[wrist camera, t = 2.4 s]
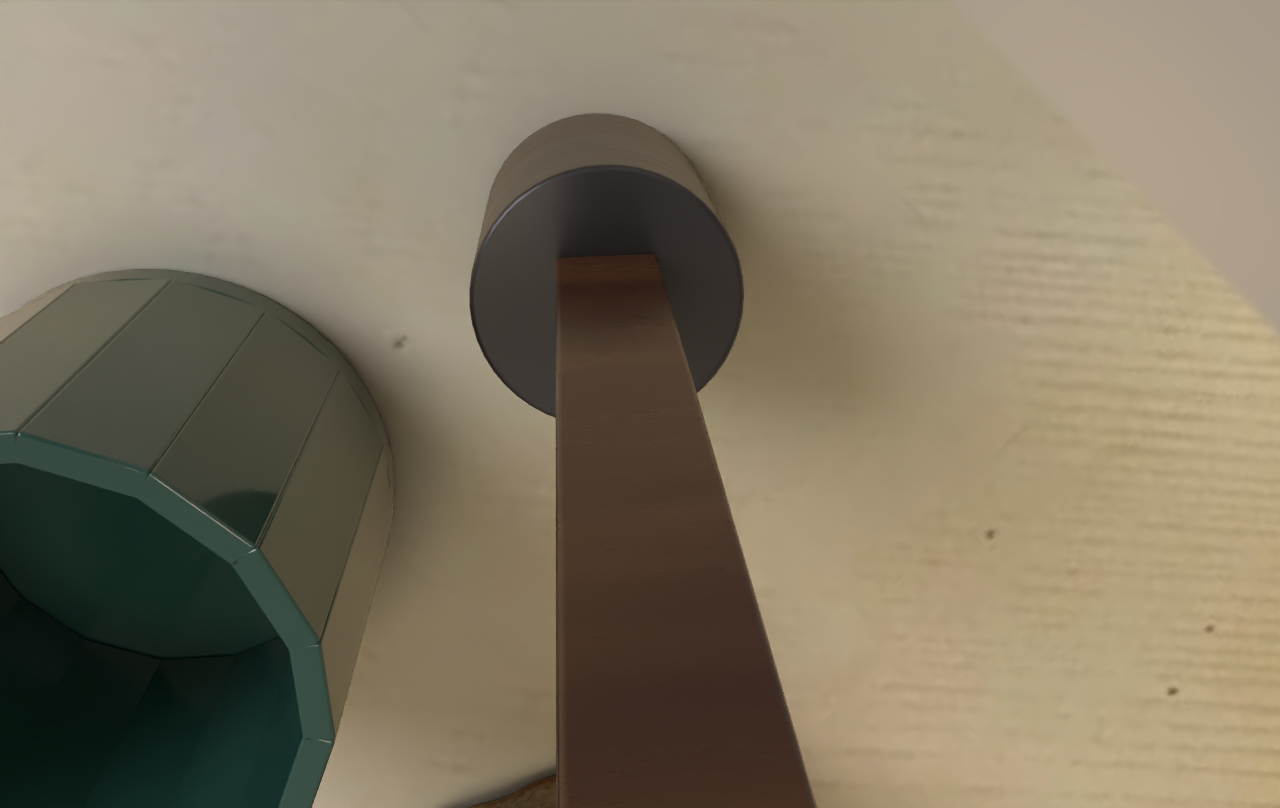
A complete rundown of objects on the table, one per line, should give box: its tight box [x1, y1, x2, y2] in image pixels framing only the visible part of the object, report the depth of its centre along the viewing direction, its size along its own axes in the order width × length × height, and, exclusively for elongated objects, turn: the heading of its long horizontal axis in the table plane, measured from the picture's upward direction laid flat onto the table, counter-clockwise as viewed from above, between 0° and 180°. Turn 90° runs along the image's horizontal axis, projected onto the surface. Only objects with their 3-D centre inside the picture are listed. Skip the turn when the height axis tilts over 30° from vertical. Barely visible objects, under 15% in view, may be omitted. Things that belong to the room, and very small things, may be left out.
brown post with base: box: [470, 114, 817, 808], centre depth 14 cm, size 4×4×22 cm
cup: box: [0, 269, 395, 808], centre depth 21 cm, size 9×9×8 cm
